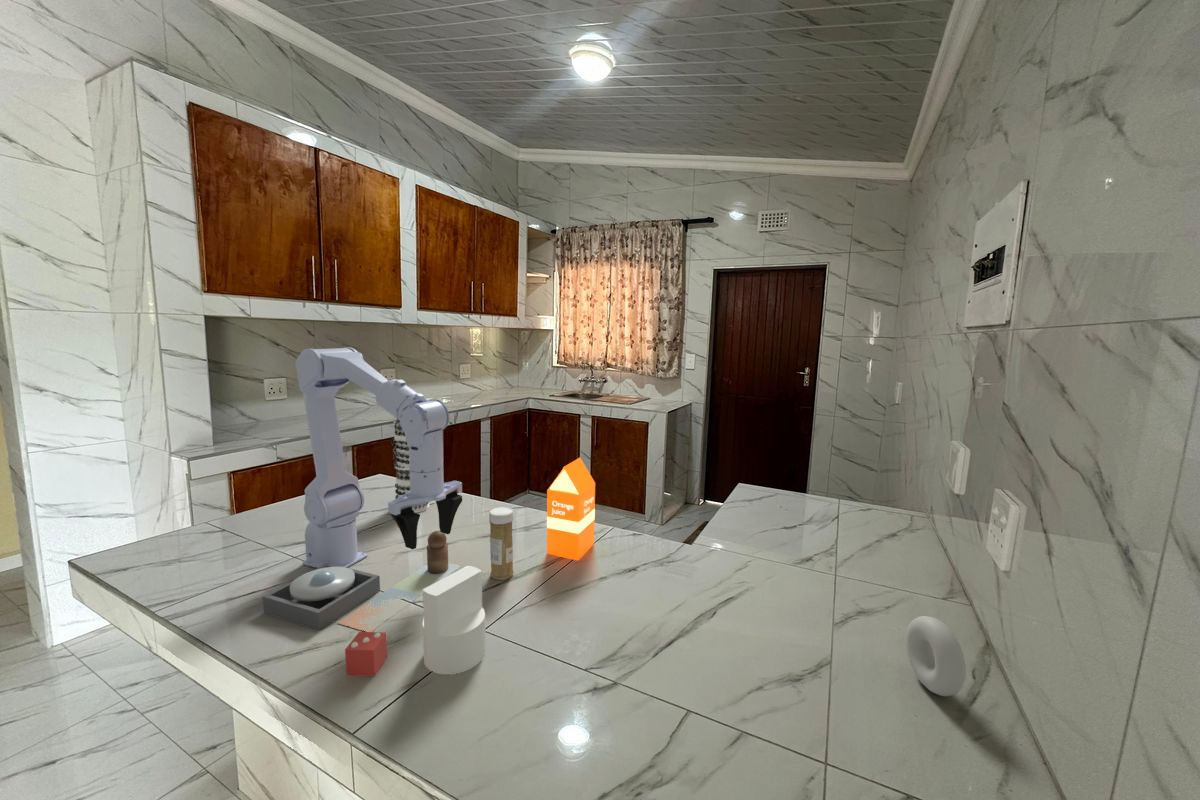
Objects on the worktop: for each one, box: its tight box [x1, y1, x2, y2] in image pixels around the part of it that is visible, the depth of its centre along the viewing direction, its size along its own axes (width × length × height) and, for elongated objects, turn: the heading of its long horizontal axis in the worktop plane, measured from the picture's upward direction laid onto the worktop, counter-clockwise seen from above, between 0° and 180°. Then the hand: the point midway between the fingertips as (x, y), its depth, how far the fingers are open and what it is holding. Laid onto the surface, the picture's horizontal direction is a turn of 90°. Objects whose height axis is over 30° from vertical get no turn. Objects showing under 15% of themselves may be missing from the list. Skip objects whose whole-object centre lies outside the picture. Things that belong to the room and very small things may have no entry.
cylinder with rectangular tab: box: [422, 565, 487, 676], centre depth 74 cm, size 9×9×12 cm
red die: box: [344, 631, 388, 677], centre depth 71 cm, size 4×4×4 cm
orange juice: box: [546, 457, 596, 561], centre depth 108 cm, size 8×9×20 cm
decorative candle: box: [391, 418, 431, 514], centre depth 130 cm, size 9×9×25 cm
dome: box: [290, 567, 355, 602], centre depth 87 cm, size 10×10×4 cm
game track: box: [337, 562, 462, 632], centre depth 91 cm, size 7×24×1 cm, turn 160°
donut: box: [905, 615, 967, 697], centre depth 69 cm, size 10×4×10 cm, turn 179°
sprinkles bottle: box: [488, 506, 514, 581], centre depth 97 cm, size 5×5×14 cm
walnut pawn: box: [426, 530, 449, 574], centre depth 99 cm, size 4×4×8 cm
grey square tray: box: [261, 563, 381, 631], centre depth 87 cm, size 13×13×3 cm
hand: (428, 539), depth 90 cm, fingers open, 7 cm apart
